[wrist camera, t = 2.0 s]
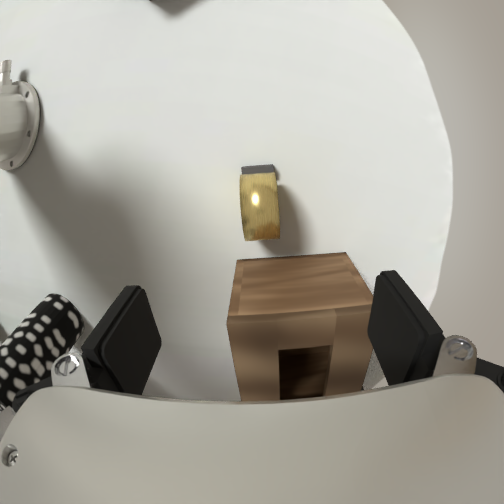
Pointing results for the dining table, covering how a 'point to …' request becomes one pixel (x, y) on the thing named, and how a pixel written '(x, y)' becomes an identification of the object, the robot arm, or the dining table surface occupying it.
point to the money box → (299, 327)
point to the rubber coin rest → (257, 169)
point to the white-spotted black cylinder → (37, 345)
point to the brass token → (259, 206)
